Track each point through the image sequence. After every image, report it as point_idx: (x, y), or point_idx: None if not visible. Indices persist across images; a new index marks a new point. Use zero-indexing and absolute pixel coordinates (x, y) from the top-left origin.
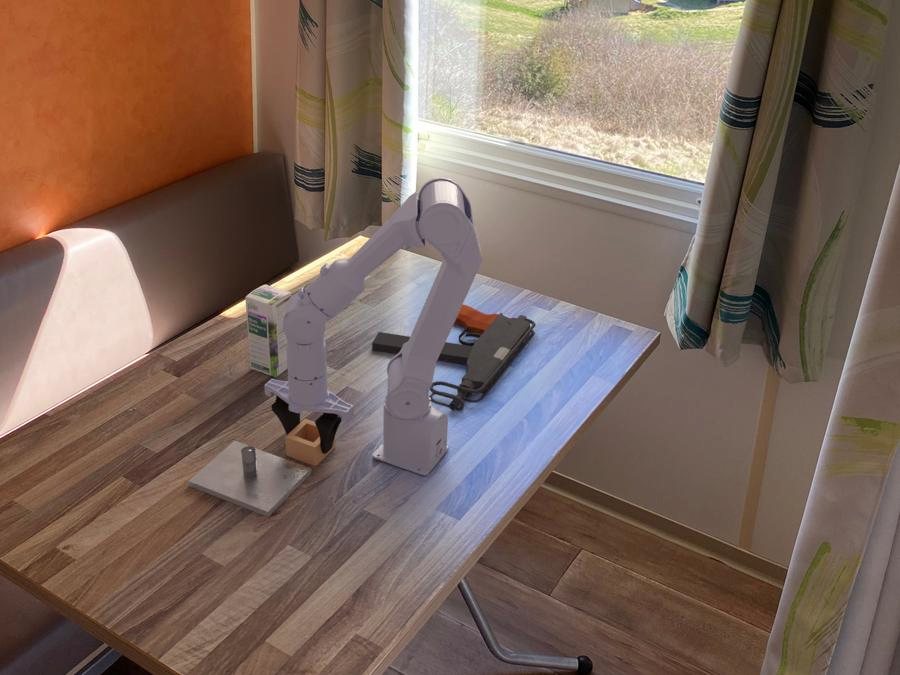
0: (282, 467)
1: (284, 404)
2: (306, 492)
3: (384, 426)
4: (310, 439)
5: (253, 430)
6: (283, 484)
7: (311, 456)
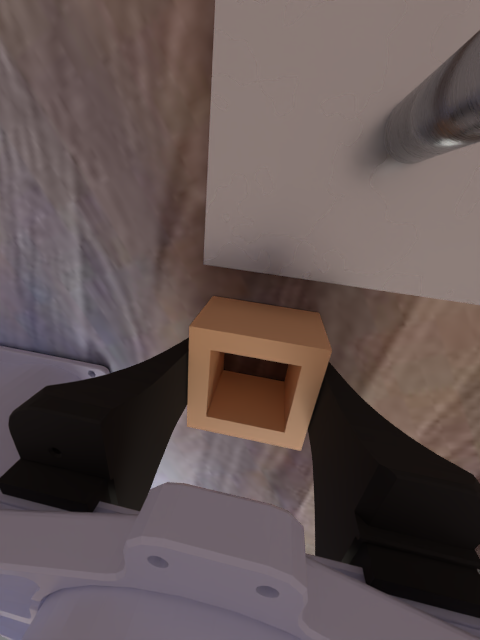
0: (298, 232)
1: (394, 530)
2: (175, 162)
3: (7, 454)
4: (274, 387)
5: (467, 388)
6: (250, 131)
7: (220, 310)
